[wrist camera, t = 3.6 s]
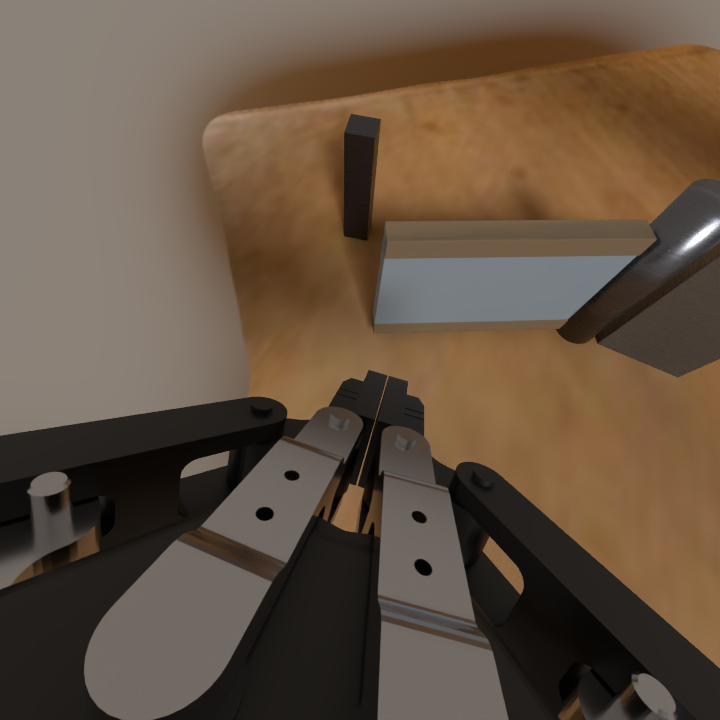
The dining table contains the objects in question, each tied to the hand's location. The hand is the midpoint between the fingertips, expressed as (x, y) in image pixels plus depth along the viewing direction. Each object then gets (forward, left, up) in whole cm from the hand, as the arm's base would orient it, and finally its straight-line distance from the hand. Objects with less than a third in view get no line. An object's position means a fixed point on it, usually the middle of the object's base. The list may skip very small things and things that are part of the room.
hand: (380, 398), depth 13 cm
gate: (-5, -11, -10) cm, 16 cm away
